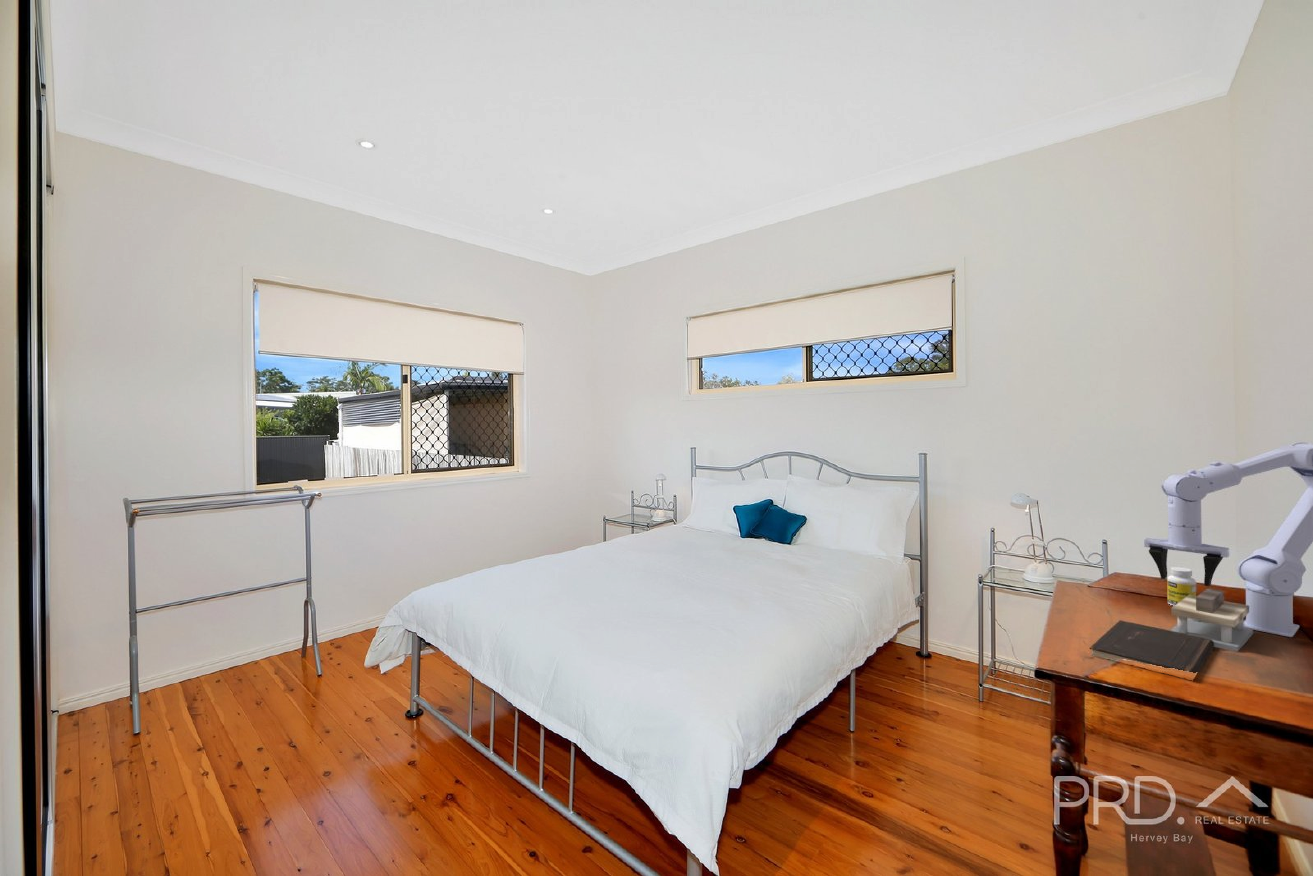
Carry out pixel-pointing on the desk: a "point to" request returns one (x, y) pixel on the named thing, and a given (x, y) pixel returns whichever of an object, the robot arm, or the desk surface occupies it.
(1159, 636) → the hardcover book
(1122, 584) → the desk surface
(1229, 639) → the peg stand
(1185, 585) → the supplement bottle
